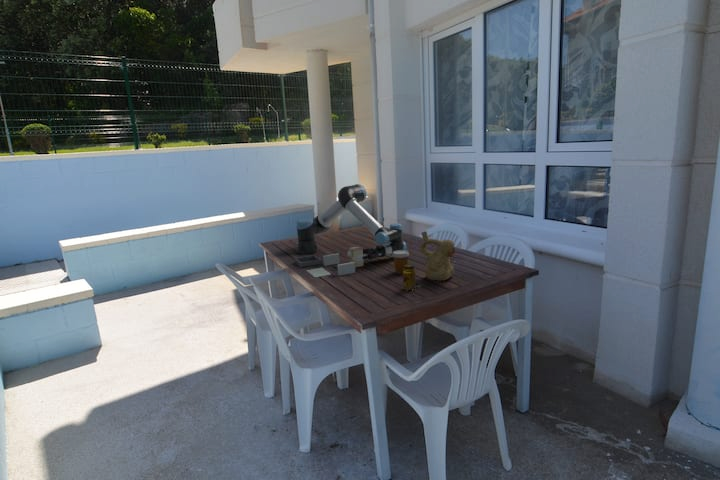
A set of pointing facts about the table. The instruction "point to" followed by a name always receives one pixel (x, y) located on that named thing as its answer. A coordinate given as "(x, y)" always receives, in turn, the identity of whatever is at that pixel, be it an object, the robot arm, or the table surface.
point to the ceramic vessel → (438, 258)
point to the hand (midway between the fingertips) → (352, 256)
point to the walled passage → (342, 268)
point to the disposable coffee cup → (400, 260)
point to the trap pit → (308, 261)
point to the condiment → (409, 277)
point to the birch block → (353, 256)
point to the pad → (318, 272)
